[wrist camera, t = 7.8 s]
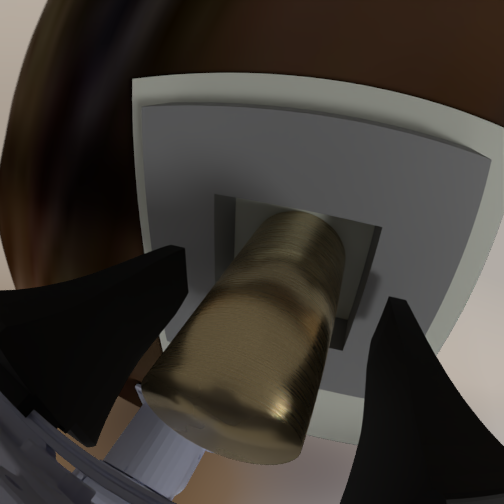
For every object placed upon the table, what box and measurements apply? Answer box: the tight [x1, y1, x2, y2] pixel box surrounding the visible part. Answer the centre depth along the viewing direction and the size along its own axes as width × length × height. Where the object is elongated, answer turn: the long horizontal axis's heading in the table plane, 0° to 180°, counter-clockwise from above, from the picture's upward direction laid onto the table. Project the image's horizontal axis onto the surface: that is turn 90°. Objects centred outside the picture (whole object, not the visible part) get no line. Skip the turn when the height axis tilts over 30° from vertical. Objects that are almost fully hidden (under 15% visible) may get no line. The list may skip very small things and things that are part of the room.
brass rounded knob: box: [141, 211, 345, 465], centre depth 9 cm, size 4×4×8 cm
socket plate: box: [132, 73, 504, 445], centre depth 14 cm, size 22×16×3 cm
